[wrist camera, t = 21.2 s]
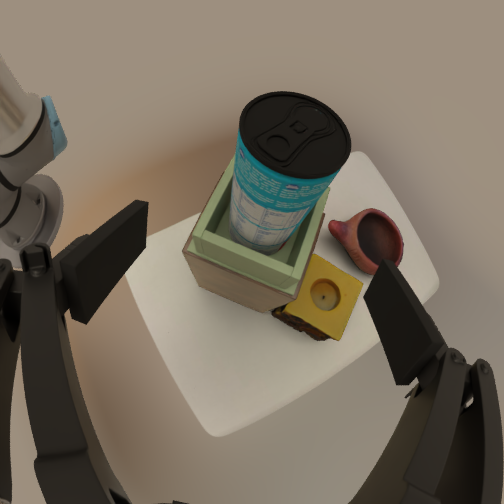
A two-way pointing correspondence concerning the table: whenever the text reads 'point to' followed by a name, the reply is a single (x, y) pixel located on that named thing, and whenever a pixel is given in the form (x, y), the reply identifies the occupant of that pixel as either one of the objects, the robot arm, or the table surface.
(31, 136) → the robot arm
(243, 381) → the table surface
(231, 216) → the beverage can
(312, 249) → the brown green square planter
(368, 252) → the bowl
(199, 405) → the table surface
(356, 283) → the candle
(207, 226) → the open box
